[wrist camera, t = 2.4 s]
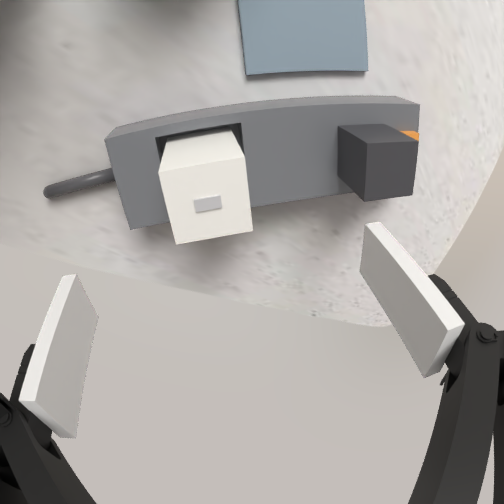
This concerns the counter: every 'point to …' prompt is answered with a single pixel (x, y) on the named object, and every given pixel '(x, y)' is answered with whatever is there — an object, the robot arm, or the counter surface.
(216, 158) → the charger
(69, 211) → the counter surface
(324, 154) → the strip
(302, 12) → the mat
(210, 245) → the counter surface
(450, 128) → the counter surface
